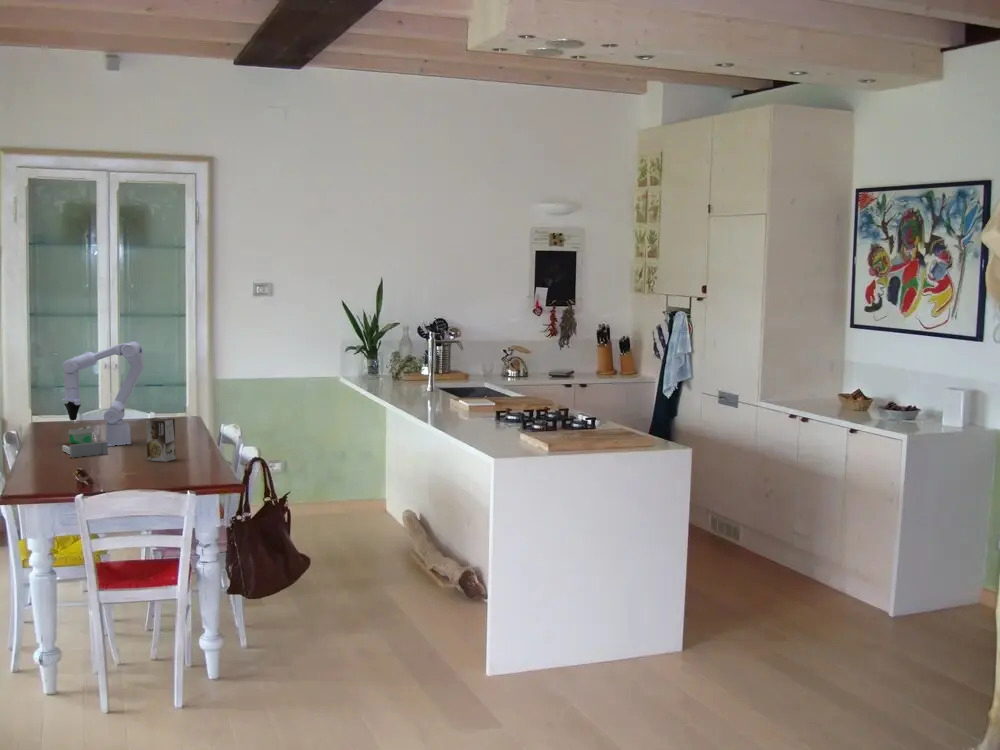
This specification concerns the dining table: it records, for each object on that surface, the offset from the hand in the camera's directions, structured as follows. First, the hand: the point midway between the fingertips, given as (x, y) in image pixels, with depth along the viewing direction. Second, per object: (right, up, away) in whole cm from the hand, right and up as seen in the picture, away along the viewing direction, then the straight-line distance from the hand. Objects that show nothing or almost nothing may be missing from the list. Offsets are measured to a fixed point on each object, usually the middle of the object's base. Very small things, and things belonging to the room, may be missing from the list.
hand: (73, 420), depth 433 cm
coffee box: (+46, -14, -28) cm, 56 cm away
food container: (+10, -12, -14) cm, 21 cm away
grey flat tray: (+11, -13, -17) cm, 24 cm away
